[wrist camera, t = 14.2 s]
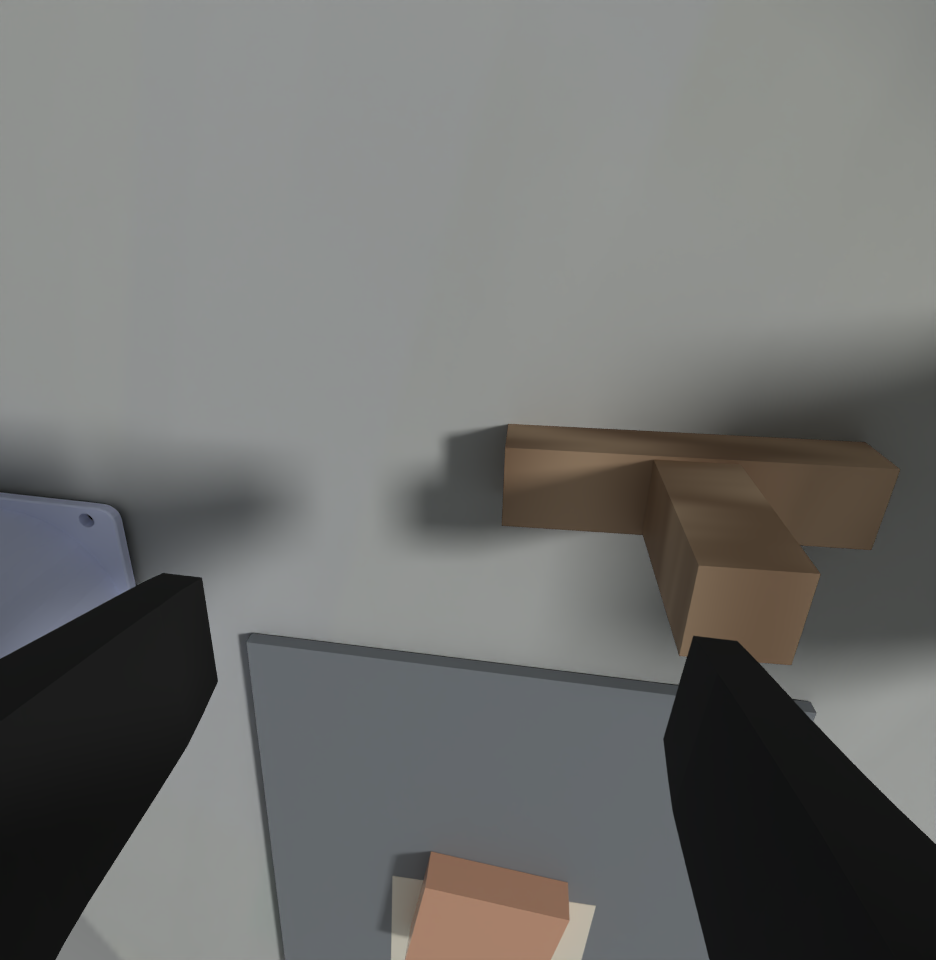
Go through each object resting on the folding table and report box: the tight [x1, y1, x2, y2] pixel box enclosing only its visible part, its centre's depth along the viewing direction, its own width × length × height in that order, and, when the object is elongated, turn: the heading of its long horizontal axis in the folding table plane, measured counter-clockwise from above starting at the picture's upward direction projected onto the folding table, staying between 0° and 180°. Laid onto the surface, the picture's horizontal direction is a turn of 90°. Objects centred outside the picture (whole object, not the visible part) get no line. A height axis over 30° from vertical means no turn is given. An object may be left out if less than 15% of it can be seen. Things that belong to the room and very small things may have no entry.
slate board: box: [246, 633, 816, 960], centre depth 26 cm, size 20×22×1 cm
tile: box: [405, 852, 570, 960], centre depth 27 cm, size 6×6×2 cm
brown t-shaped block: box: [502, 424, 900, 665], centre depth 15 cm, size 10×2×7 cm, turn 89°
